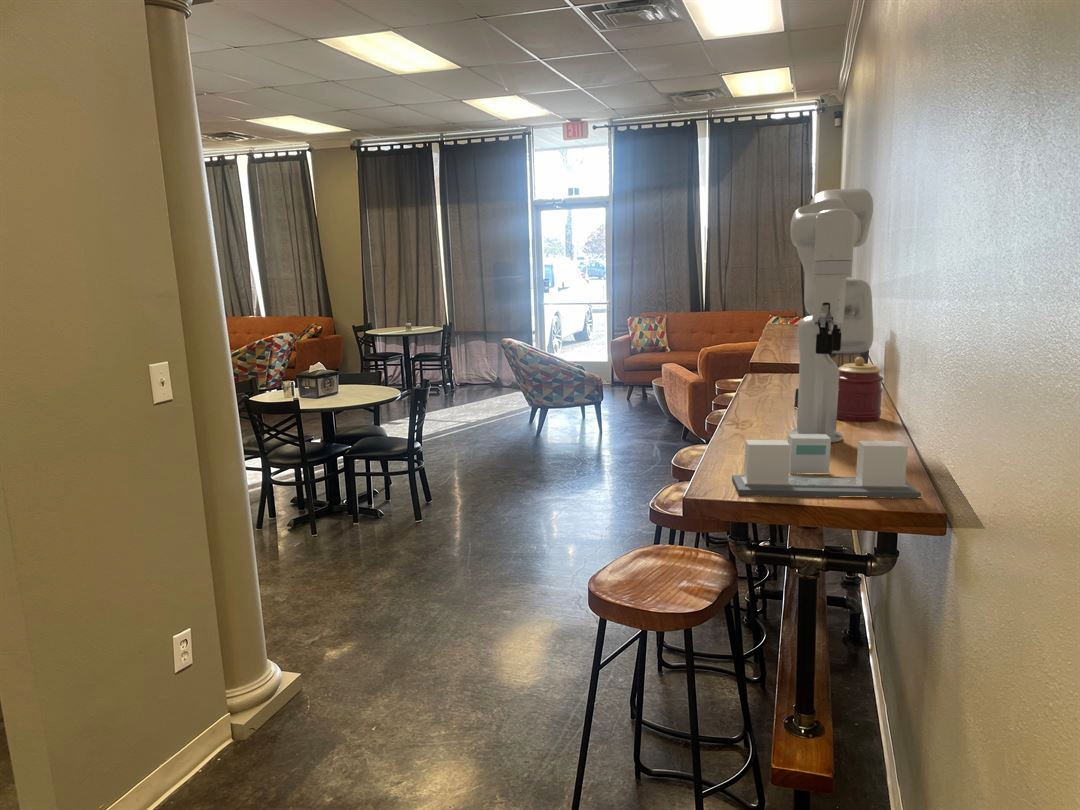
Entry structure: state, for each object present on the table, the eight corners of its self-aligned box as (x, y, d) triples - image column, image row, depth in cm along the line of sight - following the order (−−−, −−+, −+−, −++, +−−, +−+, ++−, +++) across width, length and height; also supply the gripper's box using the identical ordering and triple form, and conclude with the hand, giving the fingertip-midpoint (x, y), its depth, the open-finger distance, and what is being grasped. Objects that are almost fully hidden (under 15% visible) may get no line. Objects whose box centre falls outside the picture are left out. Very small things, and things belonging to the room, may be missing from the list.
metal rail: (741, 478, 150) (741, 476, 150) (899, 481, 146) (899, 479, 146) (744, 485, 146) (744, 484, 145) (908, 488, 142) (908, 486, 141)
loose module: (786, 469, 161) (788, 433, 159) (824, 469, 160) (826, 434, 158) (790, 474, 157) (792, 438, 155) (829, 475, 156) (831, 438, 154)
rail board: (732, 480, 153) (732, 475, 153) (902, 483, 149) (902, 477, 149) (738, 495, 144) (738, 489, 143) (920, 498, 139) (921, 492, 139)
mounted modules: (744, 477, 150) (745, 439, 148) (897, 479, 146) (900, 441, 144) (747, 483, 146) (748, 444, 144) (904, 485, 142) (907, 446, 140)
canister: (875, 414, 214) (880, 354, 211) (885, 423, 202) (889, 360, 198) (828, 412, 217) (832, 354, 214) (835, 422, 205) (838, 359, 202)
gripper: (821, 271, 161) (817, 348, 164) (805, 269, 147) (801, 354, 149) (858, 270, 157) (853, 349, 160) (844, 269, 143) (840, 356, 145)
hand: (828, 352), depth 155 cm, fingers open, 9 cm apart
